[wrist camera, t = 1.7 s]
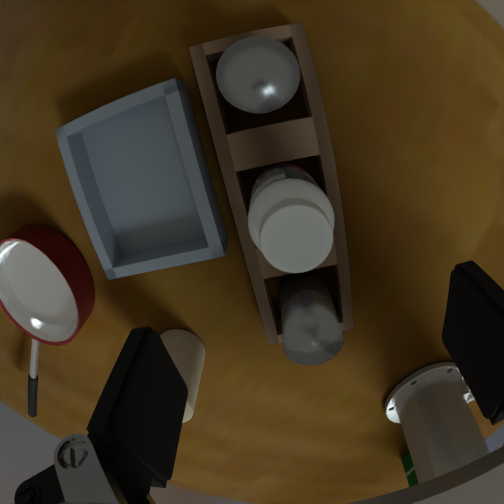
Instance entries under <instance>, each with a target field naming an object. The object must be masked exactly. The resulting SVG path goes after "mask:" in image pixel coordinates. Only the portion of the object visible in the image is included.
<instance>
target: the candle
mask: <svg viewBox="0 0 504 504" xmlns="http://www.w3.org/2000/svg"><path fill="white" fill-rule="evenodd" d="M160 338H161V339H162V341H163V343H164V345H165V347H166V349H167V351H168V353H169V355H170V356H171V358H172V360H173V362H174V364H175V365H176V367H177V369H178V371H179V373H180V374H181V376H182V378H183V380H184V381H185V383H186V385H187V388H188V398H187V403H186V408H185V412H184V417H183V422H182V423H184V422H186V421H188V420H190V419H191V418H192V416H193V412H194V407H195V402H196V397H197V392H198V387H199V383H200V378H201V373H202V368H203V364H204V359H205V347H204V344H203V342H202V341H201V340H200V339H199V338H198V337H197V336H196V335H194V334H193V333H191V332H188V331H185V330H181V329H171V330H167V331H165V332H163V333H162V334H161V335H160Z"/></svg>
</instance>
